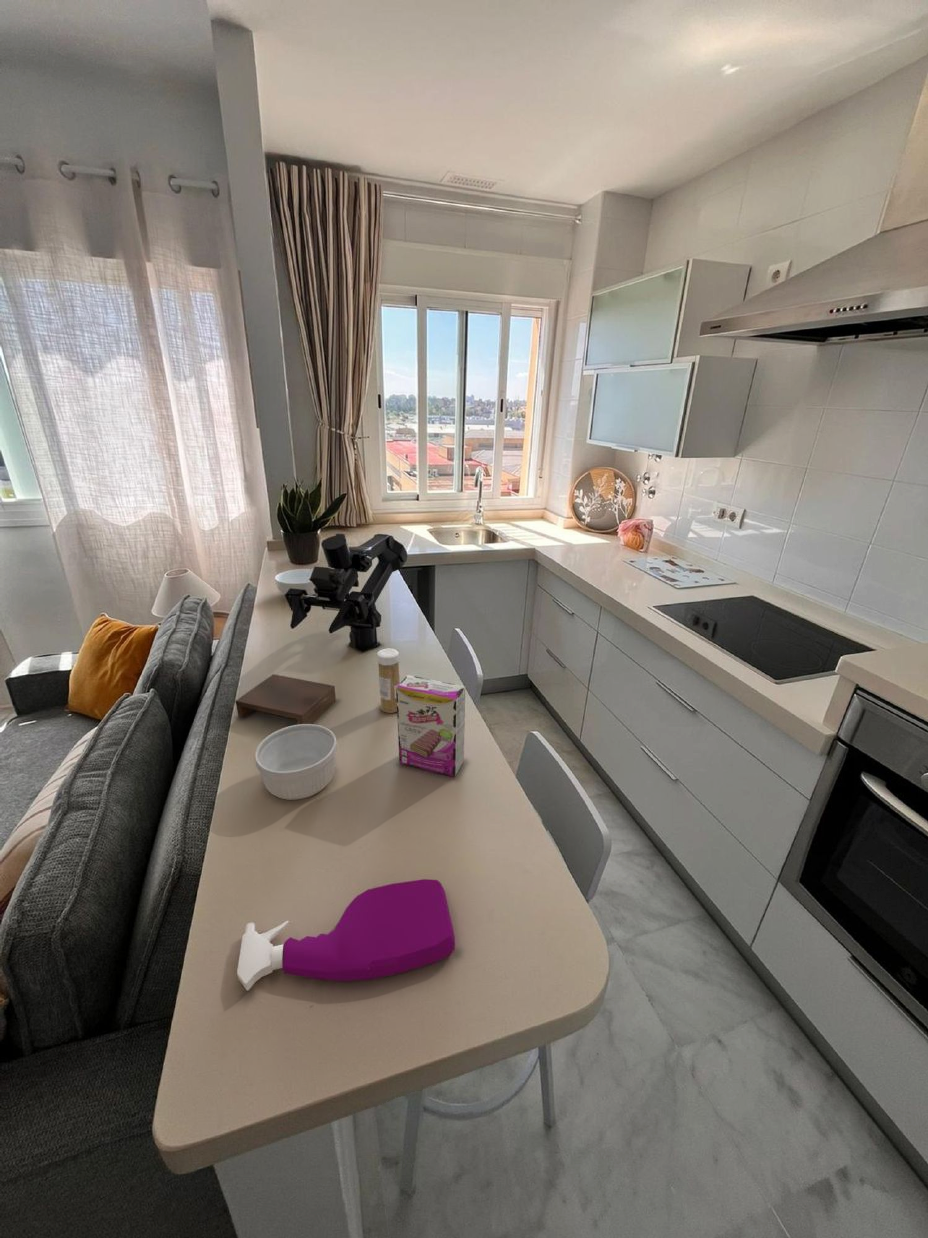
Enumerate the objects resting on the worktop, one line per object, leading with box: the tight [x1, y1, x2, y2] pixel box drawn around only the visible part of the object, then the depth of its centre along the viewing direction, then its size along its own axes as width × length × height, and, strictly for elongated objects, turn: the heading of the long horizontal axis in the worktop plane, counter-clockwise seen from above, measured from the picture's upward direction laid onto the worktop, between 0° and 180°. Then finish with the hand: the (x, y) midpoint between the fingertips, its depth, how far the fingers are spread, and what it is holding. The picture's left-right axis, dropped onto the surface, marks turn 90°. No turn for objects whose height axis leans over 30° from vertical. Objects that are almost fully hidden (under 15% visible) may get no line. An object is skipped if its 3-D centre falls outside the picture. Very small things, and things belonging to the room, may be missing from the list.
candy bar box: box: [396, 674, 466, 778], centre depth 87 cm, size 11×5×16 cm, turn 71°
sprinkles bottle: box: [376, 648, 401, 714], centre depth 105 cm, size 5×5×14 cm
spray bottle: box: [236, 878, 456, 991], centre depth 59 cm, size 3×11×24 cm
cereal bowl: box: [274, 568, 317, 596], centre depth 171 cm, size 17×17×7 cm
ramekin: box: [254, 723, 338, 801], centre depth 85 cm, size 13×13×7 cm
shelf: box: [235, 673, 337, 725], centre depth 106 cm, size 12×16×4 cm
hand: (310, 629), depth 107 cm, fingers open, 9 cm apart
